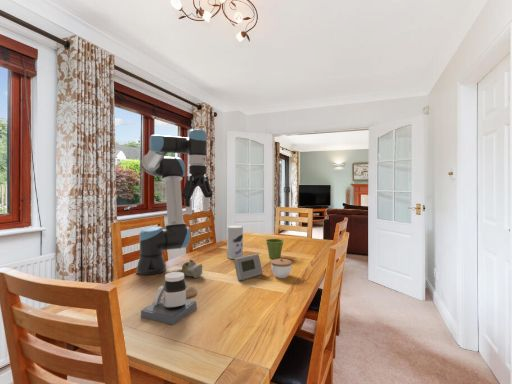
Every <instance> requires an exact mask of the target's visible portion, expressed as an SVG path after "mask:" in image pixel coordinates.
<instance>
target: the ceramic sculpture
mask: <svg viewBox="0 0 512 384" xmlns="http://www.w3.org/2000/svg"><path fill="white" fill-rule="evenodd" d="M176 272H182V273H184V277H193V278H194V279H197V278H198V279H199V278H200V277H201V276H202V274H203V264H202V263H200V264H196V262H195V261H194V260H192V259H190V260H189V261H187V262H185V263H183V264H182V266H181V269H180V270H177V271H176Z"/></svg>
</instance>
